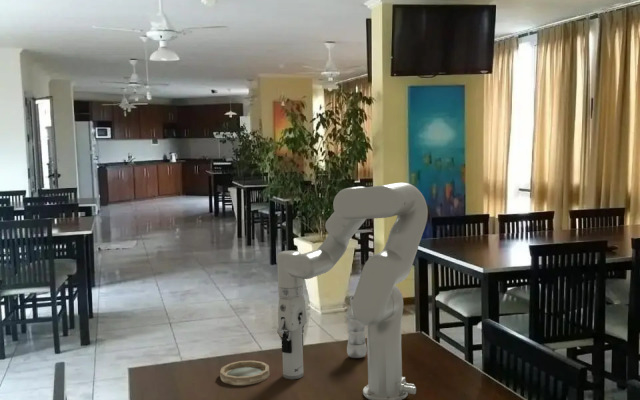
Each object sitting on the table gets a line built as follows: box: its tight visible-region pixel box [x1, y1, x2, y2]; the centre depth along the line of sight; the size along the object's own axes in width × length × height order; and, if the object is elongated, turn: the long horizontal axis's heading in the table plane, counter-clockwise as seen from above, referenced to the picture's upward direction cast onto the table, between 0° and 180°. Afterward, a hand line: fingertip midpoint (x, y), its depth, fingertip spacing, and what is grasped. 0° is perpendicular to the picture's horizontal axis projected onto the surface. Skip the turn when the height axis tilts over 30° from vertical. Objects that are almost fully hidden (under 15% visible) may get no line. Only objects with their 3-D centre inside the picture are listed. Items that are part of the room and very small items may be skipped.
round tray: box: [219, 360, 270, 386], centre depth 192 cm, size 15×15×2 cm
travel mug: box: [281, 312, 304, 380], centre depth 190 cm, size 6×7×20 cm
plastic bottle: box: [346, 296, 368, 359], centre depth 205 cm, size 6×7×20 cm
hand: (292, 348), depth 190 cm, fingers closed on travel mug, 6 cm apart
